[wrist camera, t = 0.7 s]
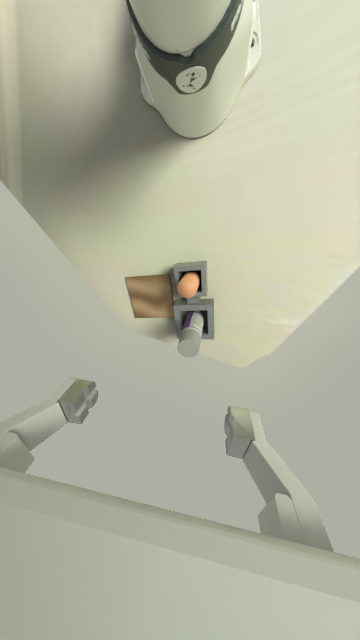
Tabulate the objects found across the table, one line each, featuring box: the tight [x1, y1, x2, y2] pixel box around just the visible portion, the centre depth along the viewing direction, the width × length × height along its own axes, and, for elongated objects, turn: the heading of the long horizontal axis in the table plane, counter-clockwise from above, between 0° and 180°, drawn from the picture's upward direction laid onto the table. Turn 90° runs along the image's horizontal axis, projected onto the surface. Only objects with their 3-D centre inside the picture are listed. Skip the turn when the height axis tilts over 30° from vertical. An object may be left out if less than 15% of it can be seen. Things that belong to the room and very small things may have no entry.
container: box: [178, 310, 204, 357], centre depth 41 cm, size 5×5×15 cm
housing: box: [173, 261, 214, 339], centre depth 43 cm, size 20×10×5 cm, turn 6°
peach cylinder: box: [177, 270, 200, 298], centre depth 37 cm, size 4×4×8 cm
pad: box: [126, 274, 175, 318], centre depth 47 cm, size 12×12×1 cm
